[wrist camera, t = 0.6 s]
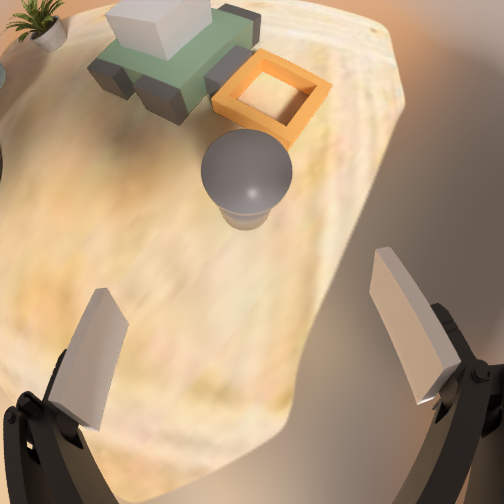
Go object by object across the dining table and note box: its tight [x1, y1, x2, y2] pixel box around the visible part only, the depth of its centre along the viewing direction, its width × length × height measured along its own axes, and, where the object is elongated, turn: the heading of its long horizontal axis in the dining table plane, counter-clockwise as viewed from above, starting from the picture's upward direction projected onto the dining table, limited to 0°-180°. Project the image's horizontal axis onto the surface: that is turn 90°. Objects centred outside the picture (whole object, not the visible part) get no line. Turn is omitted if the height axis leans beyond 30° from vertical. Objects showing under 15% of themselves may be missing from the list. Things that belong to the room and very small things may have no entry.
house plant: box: [7, 0, 67, 52], centre depth 24 cm, size 14×14×16 cm
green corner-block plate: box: [87, 0, 332, 152], centre depth 26 cm, size 30×19×13 cm, turn 57°
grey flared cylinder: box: [201, 129, 292, 230], centre depth 25 cm, size 6×6×13 cm
